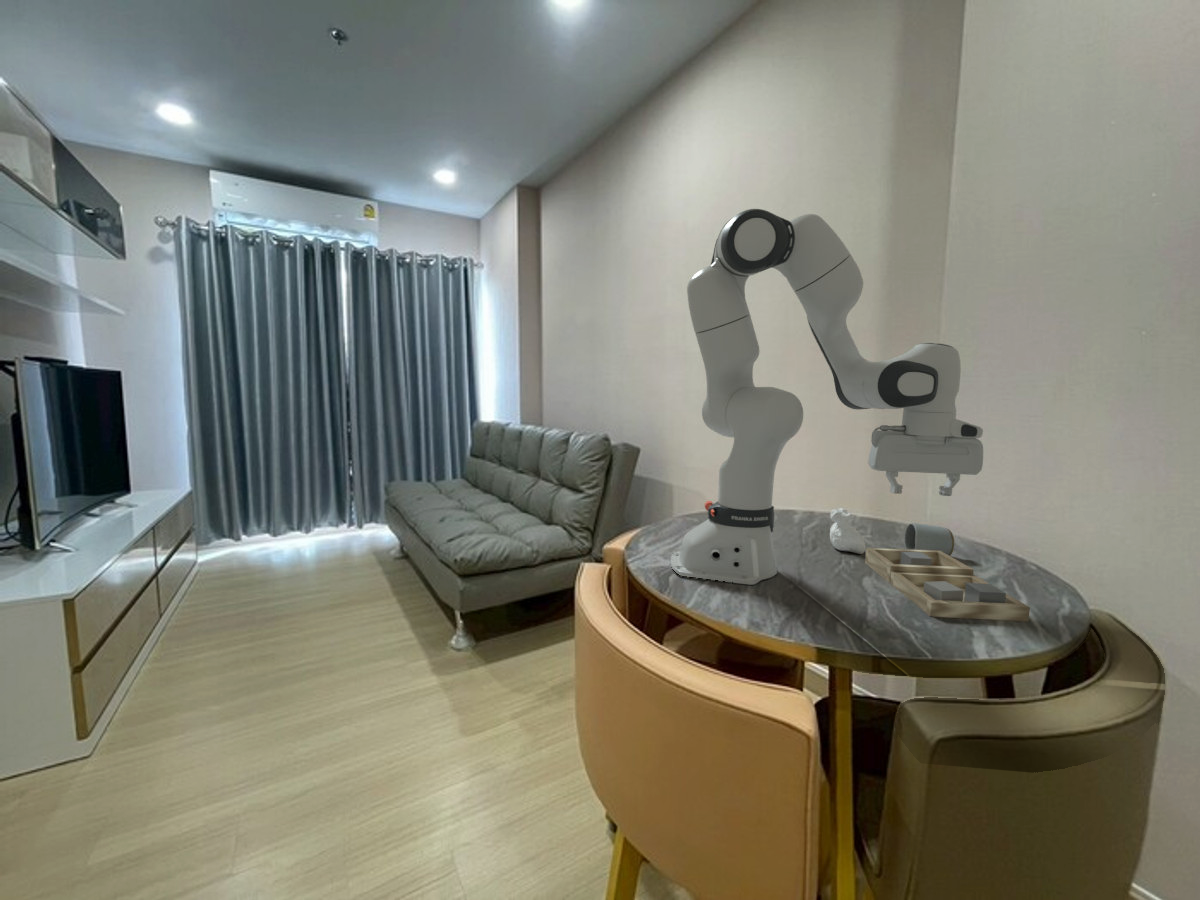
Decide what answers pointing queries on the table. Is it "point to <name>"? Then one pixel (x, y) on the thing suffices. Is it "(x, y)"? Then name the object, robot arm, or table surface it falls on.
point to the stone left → (943, 591)
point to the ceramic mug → (929, 538)
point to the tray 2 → (914, 591)
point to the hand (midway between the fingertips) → (920, 494)
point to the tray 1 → (890, 562)
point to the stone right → (983, 593)
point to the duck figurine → (845, 532)
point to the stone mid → (915, 559)
